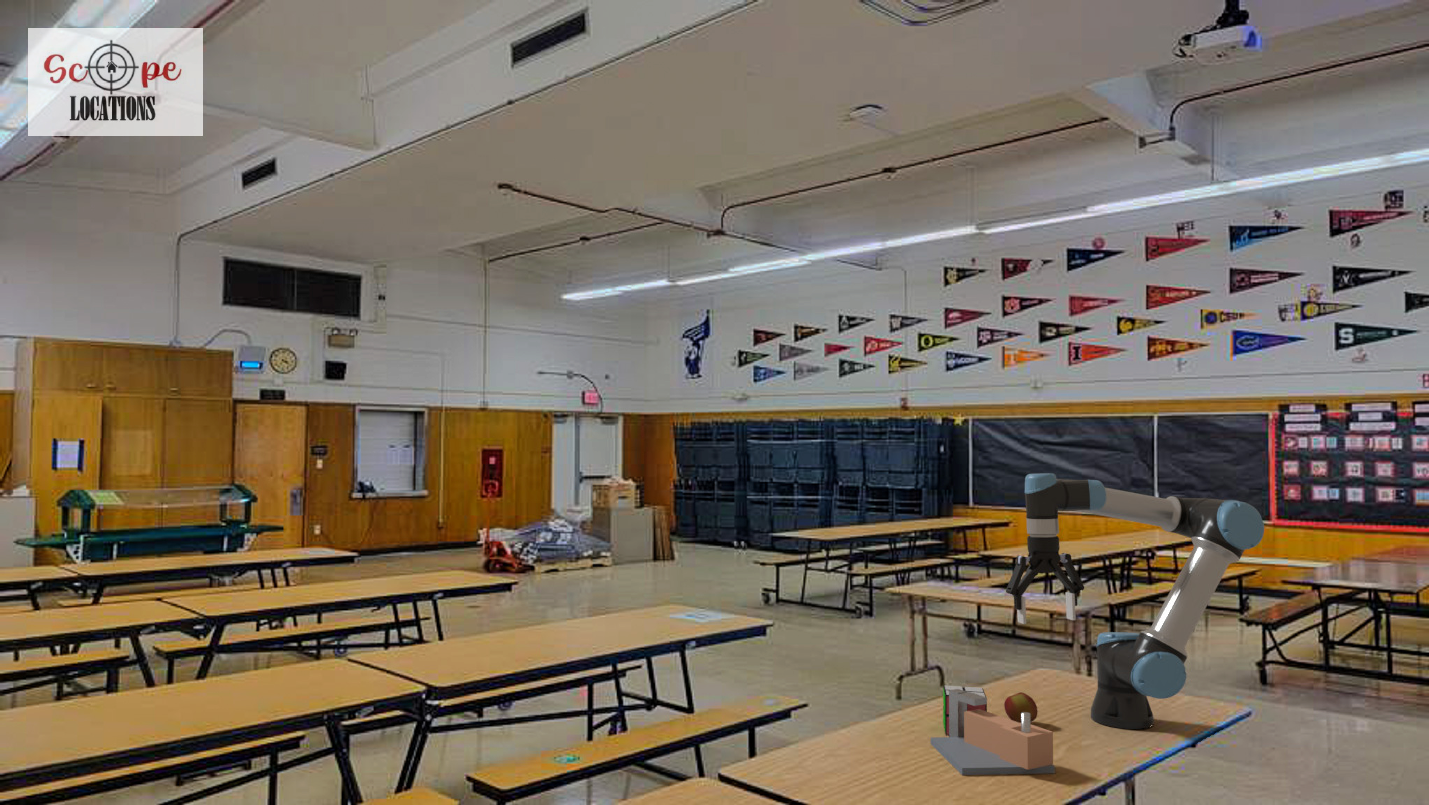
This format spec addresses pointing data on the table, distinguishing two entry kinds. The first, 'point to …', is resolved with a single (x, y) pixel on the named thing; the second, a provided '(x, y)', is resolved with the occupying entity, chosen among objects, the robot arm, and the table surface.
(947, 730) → the puzzle cube
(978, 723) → the tan socket bar
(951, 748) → the board
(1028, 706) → the apple
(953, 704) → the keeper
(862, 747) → the table surface
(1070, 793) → the table surface
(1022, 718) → the peg
